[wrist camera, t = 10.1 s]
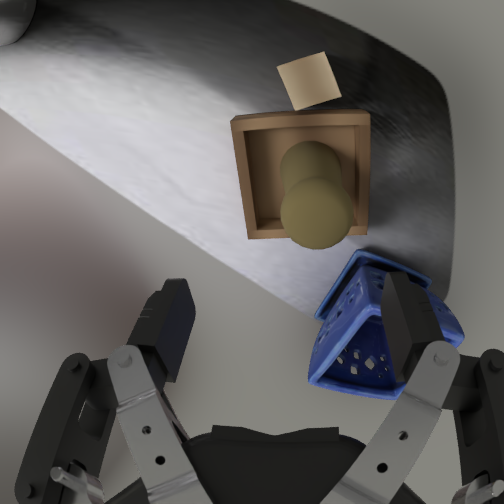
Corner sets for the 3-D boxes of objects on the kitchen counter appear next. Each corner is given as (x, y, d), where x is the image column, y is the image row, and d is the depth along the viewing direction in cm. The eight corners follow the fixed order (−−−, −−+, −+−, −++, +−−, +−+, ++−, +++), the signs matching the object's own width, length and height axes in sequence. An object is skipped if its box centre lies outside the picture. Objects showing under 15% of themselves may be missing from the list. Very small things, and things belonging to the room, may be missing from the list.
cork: (346, 145, 27) (373, 191, 18) (335, 202, 31) (351, 267, 22) (283, 136, 28) (278, 176, 19) (276, 194, 31) (268, 257, 22)
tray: (251, 224, 34) (248, 239, 32) (235, 115, 27) (230, 121, 25) (361, 220, 32) (366, 234, 30) (362, 109, 25) (369, 113, 23)
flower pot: (303, 310, 40) (302, 387, 31) (350, 229, 33) (369, 306, 23) (384, 333, 42) (397, 403, 32) (437, 265, 34) (471, 336, 24)
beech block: (294, 104, 26) (295, 110, 23) (278, 66, 24) (276, 66, 21) (335, 92, 25) (341, 96, 22) (319, 53, 23) (324, 51, 20)
